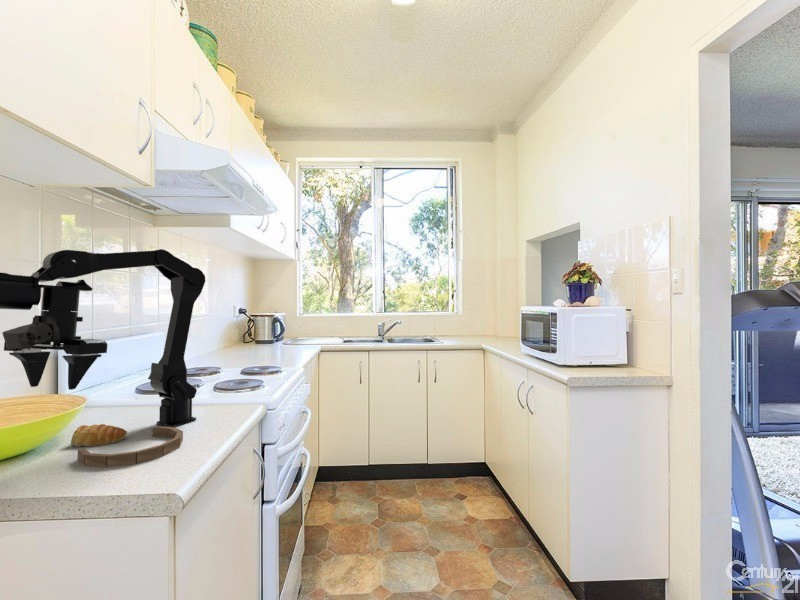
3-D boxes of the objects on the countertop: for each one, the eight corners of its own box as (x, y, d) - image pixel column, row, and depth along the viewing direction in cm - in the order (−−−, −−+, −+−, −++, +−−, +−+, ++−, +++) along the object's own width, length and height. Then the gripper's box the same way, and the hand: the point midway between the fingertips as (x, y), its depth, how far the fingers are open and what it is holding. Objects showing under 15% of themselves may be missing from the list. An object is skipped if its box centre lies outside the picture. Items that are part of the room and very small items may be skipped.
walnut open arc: (160, 433, 89) (160, 424, 89) (202, 441, 84) (202, 432, 84) (70, 462, 73) (70, 451, 73) (115, 473, 68) (115, 462, 68)
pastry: (132, 435, 89) (132, 419, 89) (117, 446, 82) (117, 428, 82) (85, 438, 87) (85, 421, 87) (66, 449, 80) (66, 431, 80)
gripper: (-26, 308, 73) (-35, 391, 72) (57, 310, 70) (49, 398, 69) (38, 310, 84) (31, 383, 83) (112, 313, 81) (106, 388, 80)
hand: (52, 388), depth 79 cm, fingers open, 9 cm apart
